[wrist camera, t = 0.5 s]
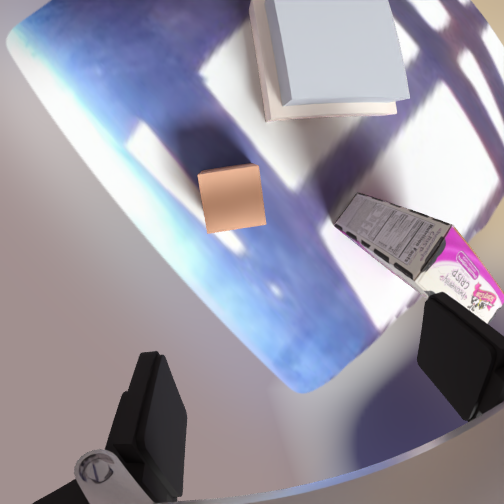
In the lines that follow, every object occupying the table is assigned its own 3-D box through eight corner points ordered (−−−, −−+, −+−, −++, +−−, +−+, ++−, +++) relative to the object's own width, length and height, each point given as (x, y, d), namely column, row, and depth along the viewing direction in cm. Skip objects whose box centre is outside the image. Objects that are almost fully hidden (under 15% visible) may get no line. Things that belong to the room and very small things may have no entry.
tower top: (264, 3, 22) (270, -16, 19) (368, 7, 23) (385, -7, 19) (282, 106, 26) (292, 99, 22) (388, 102, 26) (410, 98, 23)
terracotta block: (201, 170, 30) (197, 174, 25) (251, 162, 31) (258, 165, 25) (209, 218, 32) (207, 233, 26) (257, 211, 32) (266, 224, 27)
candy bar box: (417, 242, 35) (509, 297, 20) (394, 274, 36) (477, 344, 21) (356, 187, 32) (455, 222, 17) (330, 224, 33) (412, 285, 18)
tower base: (248, 12, 26) (251, -4, 22) (360, 14, 26) (374, 2, 23) (265, 122, 30) (271, 118, 26) (378, 116, 31) (397, 113, 27)
